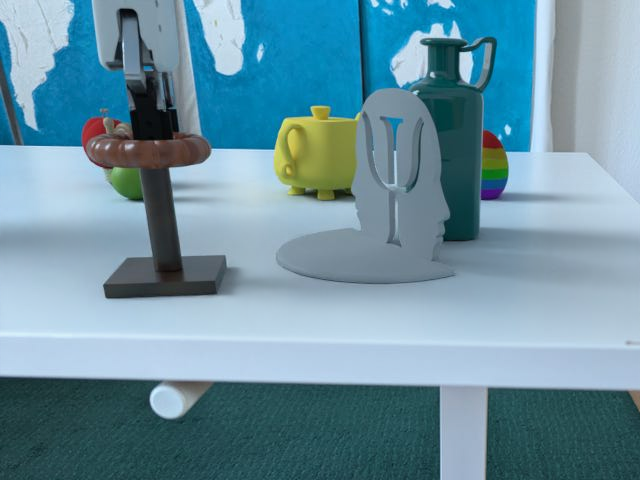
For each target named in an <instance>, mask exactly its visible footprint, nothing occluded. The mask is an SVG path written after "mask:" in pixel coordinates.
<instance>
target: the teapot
mask: <svg viewBox="0 0 640 480" xmlns="http://www.w3.org/2000/svg"><path fill="white" fill-rule="evenodd" d="M310 111H311V114H312V116H298V117H297V116H295V117H294V116H293V117H285V118H284V119H283V121H282V123H281V126H280V129H279V131H278V133H277V138H276V142H275V146H274V151H273V152H274V153H273V171H274V174H275V176H276V177H277V179H278V180H279V181H280V183H281V184H283V185H286V186H291V187H290V189H289V191H288V192H287V195H290V196H301V195H305V193H306V190H307V189H311V190H317V197H316V199H317V200H321V201H331V200H335V193H334V190H344V192H345V194H346V195H353V193H352V192H351V186H352V182H353V180H354V176H355V172H356V167H357V159H356V133H357V125H358V120H359V116H360V113H361V111H359V112H358V113H357V114H356V116H355V118H347V117H335V116H330V113H331V107H330V106H328V105H312V106H310Z"/></svg>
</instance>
